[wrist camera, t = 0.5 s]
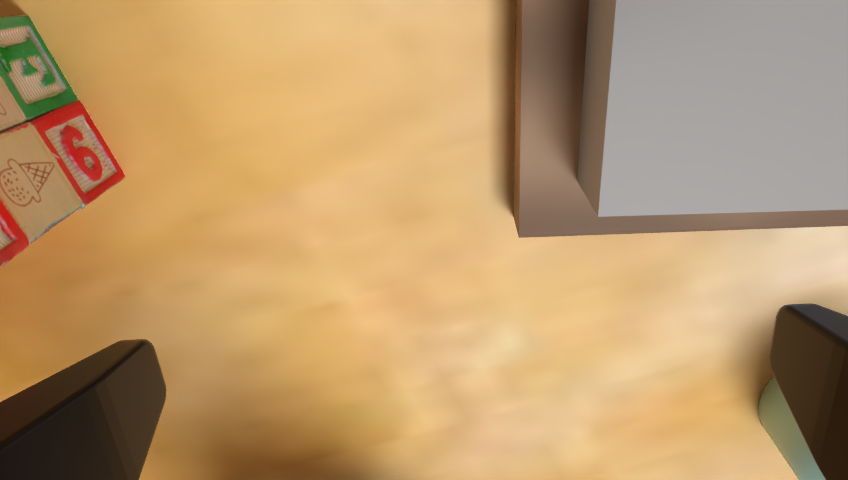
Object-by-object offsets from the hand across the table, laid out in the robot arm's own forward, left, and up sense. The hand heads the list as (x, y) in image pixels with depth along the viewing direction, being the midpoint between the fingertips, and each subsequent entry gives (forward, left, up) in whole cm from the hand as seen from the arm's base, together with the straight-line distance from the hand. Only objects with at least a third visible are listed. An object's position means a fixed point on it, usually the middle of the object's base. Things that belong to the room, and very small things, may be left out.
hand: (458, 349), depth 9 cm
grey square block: (+2, -8, -12) cm, 15 cm away
